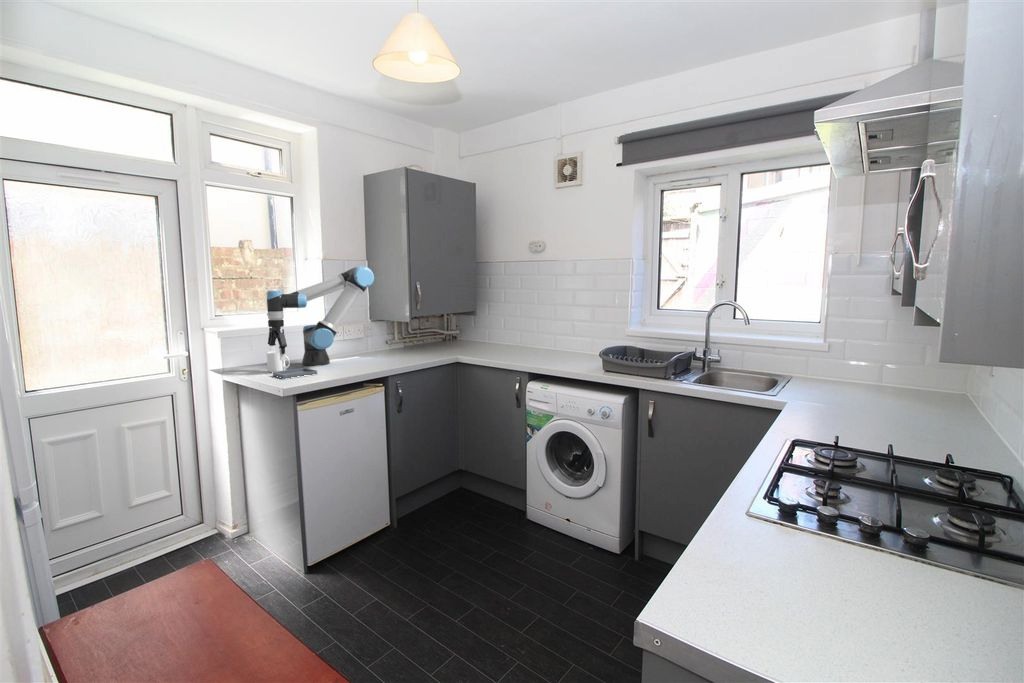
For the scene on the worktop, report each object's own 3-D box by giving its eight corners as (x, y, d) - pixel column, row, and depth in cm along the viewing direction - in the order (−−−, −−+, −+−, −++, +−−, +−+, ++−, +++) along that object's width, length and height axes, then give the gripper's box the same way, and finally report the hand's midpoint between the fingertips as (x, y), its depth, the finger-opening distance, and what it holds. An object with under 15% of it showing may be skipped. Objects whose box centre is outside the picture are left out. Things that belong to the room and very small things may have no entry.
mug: (285, 373, 254) (283, 353, 253) (264, 373, 256) (262, 353, 254) (294, 370, 262) (293, 350, 261) (274, 370, 264) (273, 350, 263)
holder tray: (305, 371, 258) (305, 367, 258) (317, 374, 248) (317, 370, 248) (273, 375, 246) (272, 372, 246) (284, 379, 236) (284, 375, 236)
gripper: (259, 318, 262) (262, 357, 264) (277, 320, 244) (279, 361, 247) (274, 318, 267) (276, 355, 269) (292, 320, 250) (294, 360, 252)
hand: (277, 358), depth 258 cm, fingers open, 13 cm apart
